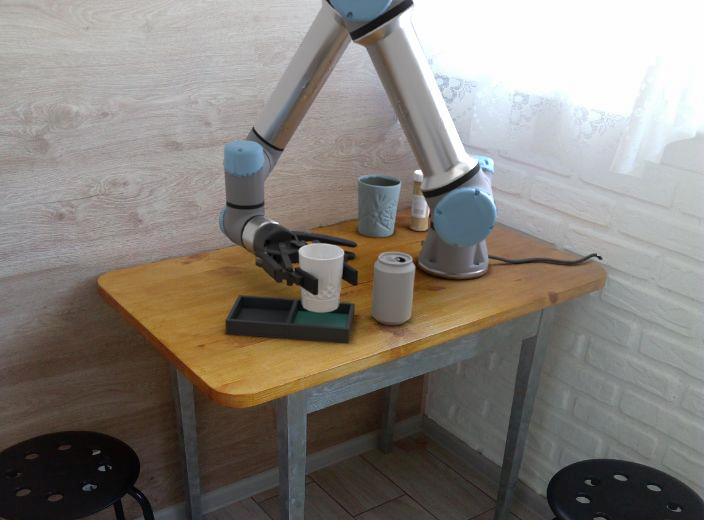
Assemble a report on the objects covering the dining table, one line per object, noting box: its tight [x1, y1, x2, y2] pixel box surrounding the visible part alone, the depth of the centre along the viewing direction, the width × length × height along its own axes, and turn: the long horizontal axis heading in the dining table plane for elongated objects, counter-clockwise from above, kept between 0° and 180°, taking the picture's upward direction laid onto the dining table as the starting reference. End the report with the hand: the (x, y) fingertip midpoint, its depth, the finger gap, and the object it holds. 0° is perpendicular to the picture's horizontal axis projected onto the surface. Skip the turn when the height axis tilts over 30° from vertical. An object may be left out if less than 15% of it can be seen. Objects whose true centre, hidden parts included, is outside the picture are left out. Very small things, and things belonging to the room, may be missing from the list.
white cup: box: [298, 243, 345, 313], centre depth 136 cm, size 8×8×10 cm
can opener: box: [290, 229, 358, 260], centre depth 169 cm, size 18×7×6 cm, turn 83°
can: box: [371, 251, 416, 326], centre depth 142 cm, size 8×8×12 cm
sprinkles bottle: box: [409, 169, 430, 232], centre depth 183 cm, size 5×5×14 cm
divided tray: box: [224, 294, 356, 344], centre depth 141 cm, size 22×11×3 cm, turn 84°
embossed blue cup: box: [357, 173, 402, 238], centre depth 181 cm, size 10×10×12 cm
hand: (336, 282), depth 132 cm, fingers closed on white cup, 7 cm apart
